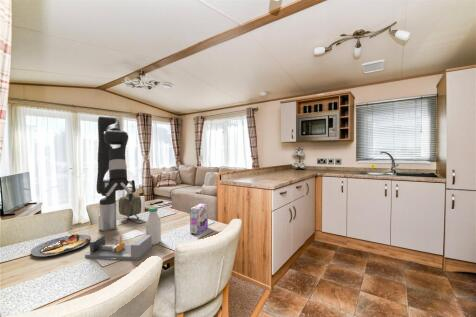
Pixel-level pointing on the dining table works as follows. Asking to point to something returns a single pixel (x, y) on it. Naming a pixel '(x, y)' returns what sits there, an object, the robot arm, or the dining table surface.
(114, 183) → the robot arm
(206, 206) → the candy box
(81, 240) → the food plate
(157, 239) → the milk bottle
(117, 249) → the needle
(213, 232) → the dining table surface
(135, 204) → the tabletop clock
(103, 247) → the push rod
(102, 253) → the base
